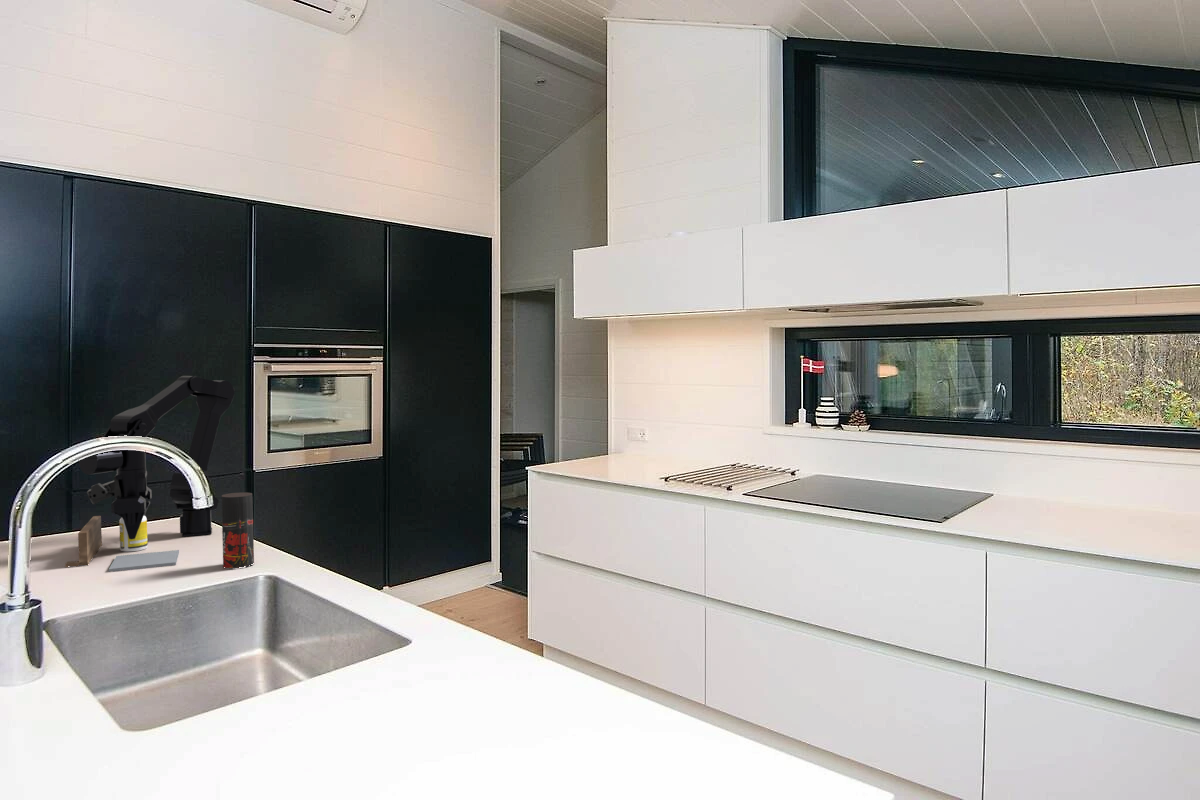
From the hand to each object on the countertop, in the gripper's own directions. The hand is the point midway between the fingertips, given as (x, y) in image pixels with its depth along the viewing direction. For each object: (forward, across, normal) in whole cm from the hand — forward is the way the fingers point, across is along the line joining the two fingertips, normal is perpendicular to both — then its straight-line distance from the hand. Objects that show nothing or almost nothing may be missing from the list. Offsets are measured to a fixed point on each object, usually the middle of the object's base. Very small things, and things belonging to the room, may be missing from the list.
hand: (133, 536), depth 175 cm
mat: (+3, +14, +4) cm, 15 cm away
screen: (+3, +2, -9) cm, 10 cm away
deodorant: (+3, +26, +22) cm, 34 cm away
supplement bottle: (+3, 0, 0) cm, 3 cm away
